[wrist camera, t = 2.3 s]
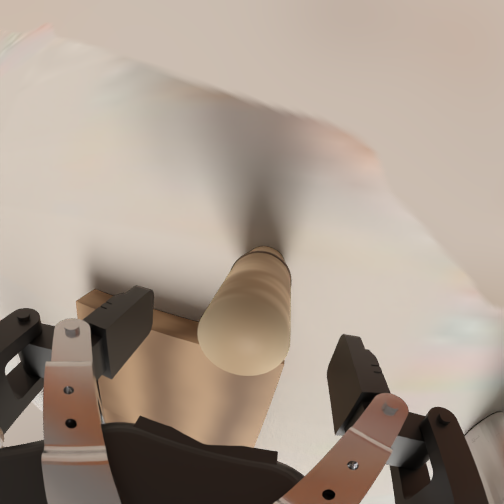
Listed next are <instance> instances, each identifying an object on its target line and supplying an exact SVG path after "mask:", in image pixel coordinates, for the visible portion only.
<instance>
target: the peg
mask: <svg viewBox="0 0 504 504" xmlns="http://www.w3.org/2000/svg"><path fill="white" fill-rule="evenodd" d="M290 318H291V274H290V271H289V268H288V266H287V265H286V263H285V262H284V259H283V257H282V255H281V254H280V253H279V252H278V251H277V250H275V249H273V248H271V247H267V246H261V247H257V248H255V249H253V250H251V251H250V252H249V253H246V254H244V255H242V256H241V257H240V258H239V259H238V260H237V261H236V262H235V263H234V265H233V267H232V268H231V271H230V273H229V274H228V276H227V277H226V279H225V281H224V282H223V284H222V285H221V287H220V289H219V290H218V292H217V293H216V295H215V296H214V298H213V300H212V301H211V303H210V304H209V306H208V308H207V309H206V311H205V312H204V314H203V316H202V317H201V319H200V322H199V325H198V333H197V335H198V341H199V344H200V347H201V349H202V351H203V353H204V354H205V355H206V357H207V358H208V359H209V360H210V361H211V362H212V363H213V364H214V365H216V366H217V367H219V368H220V369H222V370H224V371H227V372H229V373H232V374H236V375H241V376H255V375H260V374H264V373H267V372H269V371H271V370H273V369H274V368H276V367H277V366H278V365H280V364H281V363H282V361H283V360H284V359H285V357H286V356H287V353H288V351H289V347H290Z"/></svg>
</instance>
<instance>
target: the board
mask: <svg viewBox="0 0 504 504" xmlns="http://www.w3.org/2000/svg"><path fill="white" fill-rule="evenodd" d="M111 297H113V295H110V294H107V293H104V292H102V291H99V290H96V289H94V290H93V291H91V292H89V293H88V294H86V295H85V296H83V297H82V298H80V299H79V300H77V301H76V307H77V316H78V319H80V320H83V319H84V318H85V317H87V316H88V315H89V314H90V313H92V312H93V311H94V310H96V309H97V308H98V307H100V306H101V305H102V304H103V303H106V301H107V300H109V299H110V298H111ZM198 325H199V322H197V321H193V320H189V319H186V318H182V317H179V316H175V315H172V314H169V313H165V312H162V311H159V310H155V309H153V324H152V328H151V331H150V333H149V335H148V336H147V337H146V338H145V340H144V341H143V342H142V343H141V345H140V346H139V347H138V348H137V349H136V351H135V352H134V353H133V354H132V355H131V357H130V358H129V359H128V360H127V362H126V363H125V364H124V365H123V367H122V368H121V369H120V370H119V371H118V373H117V374H116V375H115V376H114V378H113V379H110V378H107V377H105V376H103V375H102V376H101V377H100V378H99V379H98V380H99V386H100V392H101V398H102V404H103V409H104V414H105V419H106V423H111V422H128V423H136V421H137V419H138V418H139V416H143V417H145V418H148V419H151V420H153V421H156V422H159V423H162V424H165V425H168V426H171V427H173V428H174V429H176V430H178V431H180V432H182V433H183V434H185V435H187V436H189V437H191V438H193V439H195V440H197V441H199V442H201V443H203V444H207V445H227V446H247V447H252V448H254V445H255V443H256V440H257V438H258V435H259V433H260V430H261V427H262V425H263V422H264V420H265V417H266V414H267V412H268V409H269V406H270V403H271V401H272V398H273V395H274V392H275V389H276V387H277V384H278V381H279V378H280V375H281V372H282V369H283V366H284V360H283V361H282V363H281V364H280V365H278V366H277V367H276V368H274V369H273V370H271V371H269V372H267V373H264V374H260V375H255V376H241V375H236V374H232V373H229V372H227V371H224V370H222V369H220V368H219V367H217V366H216V365H214V364H213V363H212V362H211V361H210V360H209V359H208V358H207V357H206V355H205V354H204V353H203V351H202V349H201V347H200V344H199V341H198V335H197V333H198Z"/></svg>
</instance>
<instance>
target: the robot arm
mask: <svg viewBox="0 0 504 504" xmlns="http://www.w3.org/2000/svg"><path fill="white" fill-rule="evenodd" d="M153 302H154V293H153V290H151V289H147V288H144V287H140V286H137V285H136V286H134V287H133V288H132V289H131V290H129V291H128V292H127V293H121V294H118V295H115V296H113V297H111V298H110V299H109V300H107V301H106V303H103V304H102V305H101V306H100V307H98V308H97V309H96V310H94V311H93V312H92V313H90V314H89V315H88V316H87V317H85V318H84V319H83V320H80V319H75V318H71V319H65V320H62V321H60V322H59V323H58V324H57V325H56V326H50V325H46V324H41V321H40V315H39V313H38V312H37V311H35V310H33V309H29V308H23V309H18V310H16V311H14V312H13V313H11V314H10V315H8V316H7V317H5V318H4V319H2V320H1V321H0V504H359V503H360V502H361V500H362V499H363V498H364V496H365V495H366V493H367V492H368V490H369V489H370V487H371V486H372V484H373V483H374V481H375V480H376V478H377V477H378V475H379V474H380V472H381V470H382V469H383V467H384V465H385V464H387V465H390V470H391V476H392V482H393V489H394V497H395V504H504V413H503V412H497V413H495V414H492V415H491V416H489V417H487V418H486V419H484V420H483V421H481V422H480V423H479V424H477V425H476V426H475V427H474V428H473V429H471V430H470V431H469V432H468V433H467V434H466V435H465V436H464V434H463V432H462V430H461V427H460V425H459V423H458V421H457V419H456V417H455V416H454V414H453V413H452V412H450V411H449V410H447V409H445V408H442V407H434V408H432V409H431V410H430V411H429V412H428V413H427V415H426V416H422V415H418V414H414V413H411V412H409V410H408V406H407V404H406V403H405V402H404V401H403V400H402V399H401V398H400V397H398V396H396V395H393V394H391V393H390V391H389V388H388V385H387V383H386V380H385V378H384V375H383V374H382V370H381V368H380V367H379V363H378V361H377V358H376V357H375V356H374V355H373V354H372V353H371V352H370V351H369V350H367V349H365V348H364V345H363V343H362V340H361V338H360V337H358V336H351V335H345V334H343V335H342V336H341V337H340V339H339V341H338V344H337V346H336V349H335V351H334V354H333V356H332V358H331V361H330V363H329V366H328V370H327V380H328V387H329V394H330V401H331V408H332V416H333V423H334V432H335V435H341V436H342V437H341V439H340V440H339V441H338V442H337V443H336V444H335V445H334V447H333V448H332V449H331V450H330V451H329V452H328V453H327V454H326V455H325V456H324V457H323V458H322V460H321V461H320V462H319V463H318V464H317V465H316V466H315V467H314V468H313V469H312V470H311V471H310V472H309V473H308V474H307V475H306V476H303V475H302V474H301V473H300V472H298V471H297V470H295V469H293V468H292V467H290V466H288V465H286V464H283V463H281V462H278V461H277V455H278V452H277V451H270V450H264V449H258V448H252V447H247V446H227V445H207V444H203V443H201V442H199V441H197V440H195V439H193V438H191V437H189V436H187V435H185V434H183V433H182V432H180V431H178V430H176V429H174V428H173V427H171V426H168V425H165V424H162V423H159V422H156V421H153V420H151V419H148V418H145V417H143V416H139V418H138V419H137V421H136V423H128V422H111V423H106V419H105V414H104V409H103V404H102V398H101V392H100V386H99V380H98V379H99V378H100V377H101V376H102V375H103V376H105V377H107V378H110V379H113V378H114V376H115V375H116V374H117V373H118V371H119V370H120V369H121V368H122V367H123V365H124V364H125V363H126V362H127V360H128V359H129V358H130V357H131V355H132V354H133V353H134V352H135V351H136V349H137V348H138V347H139V346H140V345H141V343H142V342H143V341H144V340H145V338H146V337H147V336H148V335H149V333H150V331H151V328H152V324H153ZM17 354H19V357H20V360H21V362H20V363H19V364H18V365H17V366H16V367H15V368H14V369H13V370H12V371H11V372H10V373H9V374H8V375H7V376H6V375H5V367H6V364H7V363H8V362H9V361H10V360H11V359H12V358H13V357H14V356H15V355H17ZM43 387H44V392H43V430H44V440H41V441H37V442H32V443H27V444H22V445H16V446H11V447H3V446H2V445H3V442H4V434H5V433H6V431H7V430H8V429H9V428H10V426H11V425H12V424H13V422H14V421H15V420H16V419H17V418H18V416H19V415H20V414H21V413H22V411H24V409H25V408H26V407H27V406H28V405H29V403H30V402H31V401H32V400H33V399H34V398H35V396H36V395H37V394H38V393H39V392H40V391H41V390H42V388H43ZM429 459H430V461H431V465H432V468H433V477H432V480H431V481H430V476H429V473H428V469H427V465H426V462H427V461H428V460H429Z"/></svg>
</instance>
